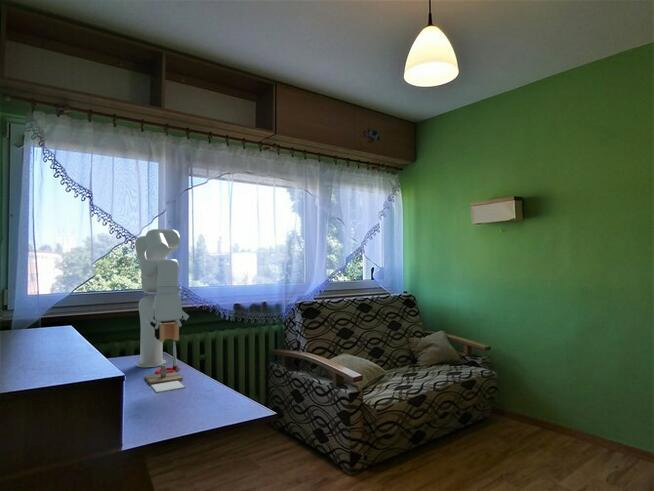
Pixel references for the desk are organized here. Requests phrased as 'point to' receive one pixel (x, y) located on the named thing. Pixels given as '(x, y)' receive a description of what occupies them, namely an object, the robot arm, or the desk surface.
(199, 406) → the desk surface
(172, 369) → the tow hook
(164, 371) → the stand
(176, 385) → the pad
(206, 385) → the desk surface
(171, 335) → the c link
